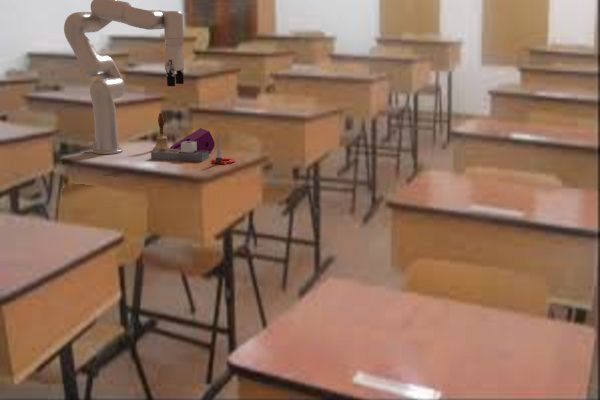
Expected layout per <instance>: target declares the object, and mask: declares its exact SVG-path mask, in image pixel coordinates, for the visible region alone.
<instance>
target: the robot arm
mask: <svg viewBox="0 0 600 400" xmlns="http://www.w3.org/2000/svg"><path fill="white" fill-rule="evenodd" d="M112 22H116V23H120V24H125V25H128V26H129V27H134V28H139V29H141V30H142V29H143V30H147V31H148V30H150V31H151V30H163V31H164V48H165V50H164V70H165V71H166V72H165V73H166V85H167V87H176V84H177V85H184V83H185V82H184V78H185V76H184V70H185V69H184V66H185V63H184V51H183V47H184V46H185V45H184V15H183V13H182V11H178V10H167V11H166V10H161V9H159V10H157V9H156V10H155V9H153V10H149V9H143V8H138V7H133V6H132V4H131V3H130V2H127V1H122V0H92V1H91V3H90V11H78V12H73V13H71V14H69V15H68V16H67V18H66V19H65V22H64V25H63V31H64V36H65V38H66V40H67V43H68V44H69V46H70V48H71V49H72V51H73V53H74V56H75V57H76V59H77V62H78V64H79V66H80V68H81V70H82V72H83V74H84V75H85V76H86V77H89V78H98V77H99V78H98V79H96V80H94V81H92V82H91V84H90V87H89V95H90V99H91V103H92V110H93V125H94V139H95V140H94V141H88V142H87V147H91V148H93V149H92V150H91V151H92V153H93V154H96V155H111V154H112V155H113V154H118V153H122V152H123V147H120V146H119V134H118V132H119V131H118V117H117V116H118V115H117V109H116V108H117V107H116V105H115V102H114V100H116V99H120V98H122V97H123V96H124V94H125V92H126V84H125V81H124V79H123V77H122V75H121V73H120V70H119V68H118V67H117V64H116V63H115V61H114V60H113V58H112V57H111V56H110V55H107V54H105V53H98V52H97V51H96V48H95V46H94V44H93V43H92V41H91V40H90V39H89V38H88V36H87V35H86V33H87V34H88V33H96V32H97V33H98V32H99V31H101V30H102V29H103V28H106V26H108V25H109V24H110V23H112Z"/></svg>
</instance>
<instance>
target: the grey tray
mask: <svg viewBox="0 0 600 400" xmlns="http://www.w3.org/2000/svg"><path fill="white" fill-rule="evenodd" d="M209 158H210V153H209V151H208V150H197V153H195V154H189V153H181V149H161V148H159V149H157V150H153V151H151V152H150V159H151V160H152V161H153V160H155V161H156V160H158V161H178V162H195V161H196V162H198V163H199V162H200V163H202V161H203V162H204V161H206V160H207V159H209ZM205 159H206V160H205Z"/></svg>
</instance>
